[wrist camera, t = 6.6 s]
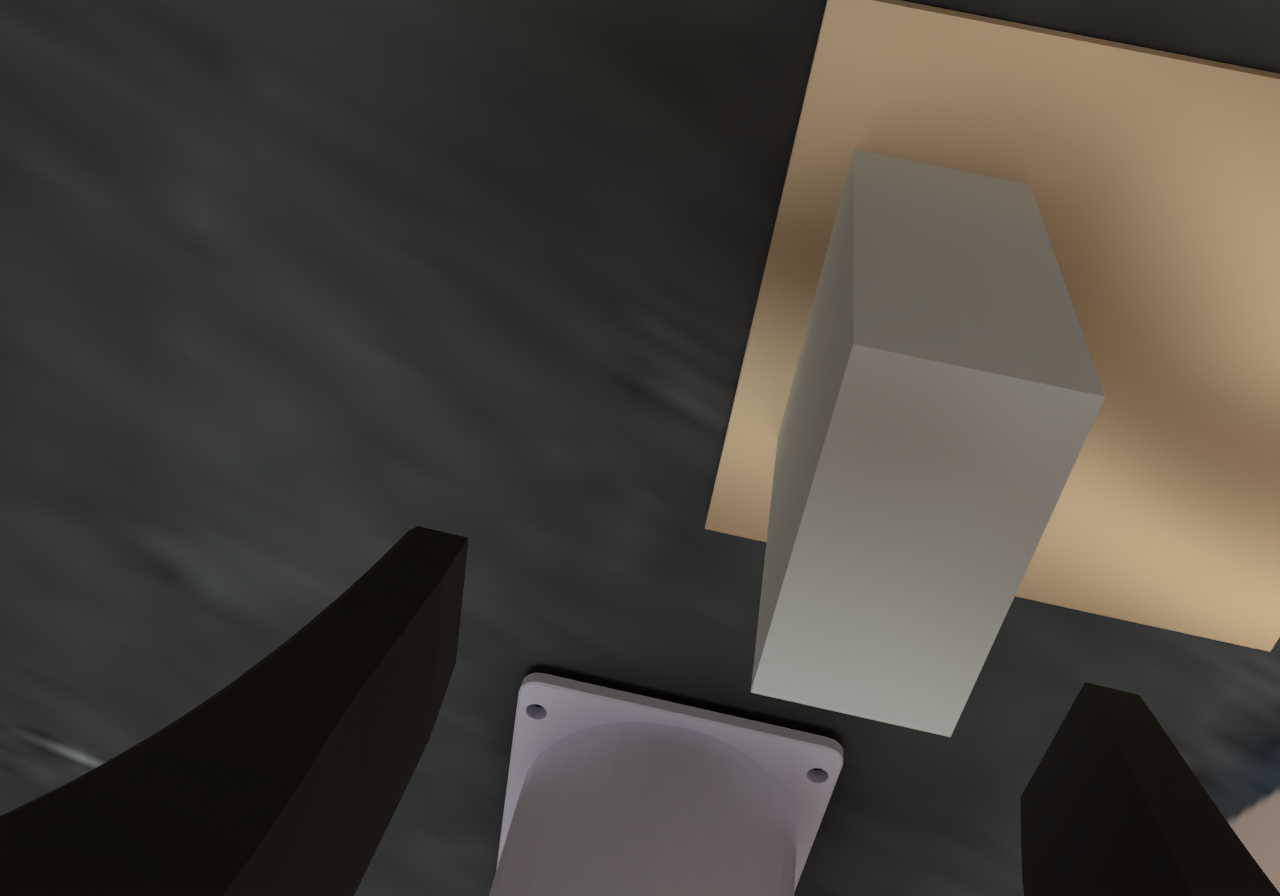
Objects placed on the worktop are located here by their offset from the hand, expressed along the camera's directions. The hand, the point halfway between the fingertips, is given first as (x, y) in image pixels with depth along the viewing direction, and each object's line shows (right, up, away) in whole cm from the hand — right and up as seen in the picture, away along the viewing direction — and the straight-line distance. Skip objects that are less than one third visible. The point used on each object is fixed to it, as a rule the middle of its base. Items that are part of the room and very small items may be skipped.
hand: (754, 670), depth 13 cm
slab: (+3, +5, +8) cm, 10 cm away
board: (+7, +4, +8) cm, 11 cm away
